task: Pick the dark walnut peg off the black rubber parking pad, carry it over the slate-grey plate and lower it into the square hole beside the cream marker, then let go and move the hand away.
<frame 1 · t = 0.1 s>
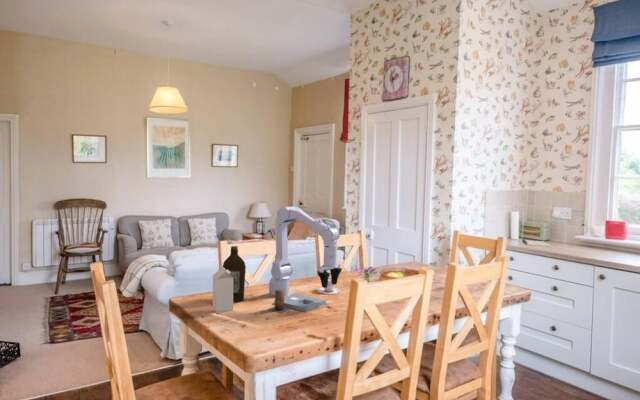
hand: (329, 285, 195), 10 cm above the table, tool pointing down, fingers open, 7 cm apart
teacup: (328, 291, 224), on the table
olive oil: (233, 300, 205), on the table
parking pad: (279, 311, 189), on the table
milk carton: (222, 311, 188), on the table
hole plate: (300, 305, 198), on the table
walnut peg: (279, 309, 189), point 1 cm above the table, touching parking pad
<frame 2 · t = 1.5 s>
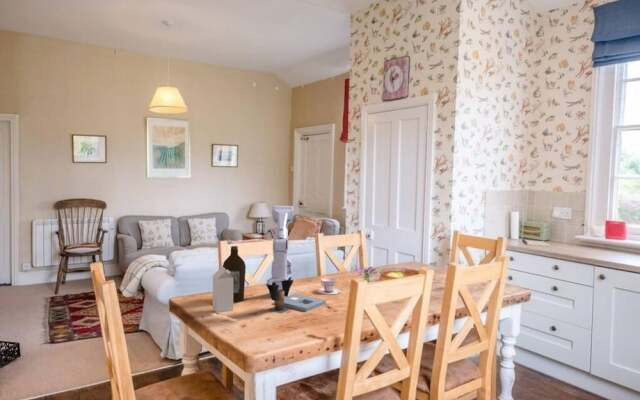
hand: (279, 298, 189), 6 cm above the table, tool pointing down, fingers open, 7 cm apart
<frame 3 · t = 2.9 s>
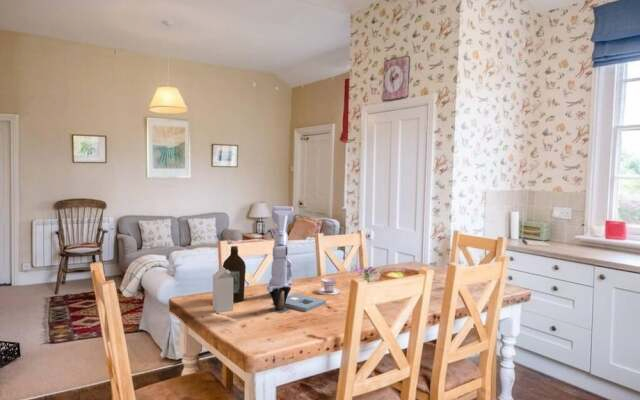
hand: (279, 304, 189), 3 cm above the table, tool pointing down, fingers closed on walnut peg, 4 cm apart
walnut peg: (279, 309, 189), point 1 cm above the table, touching gripper, parking pad
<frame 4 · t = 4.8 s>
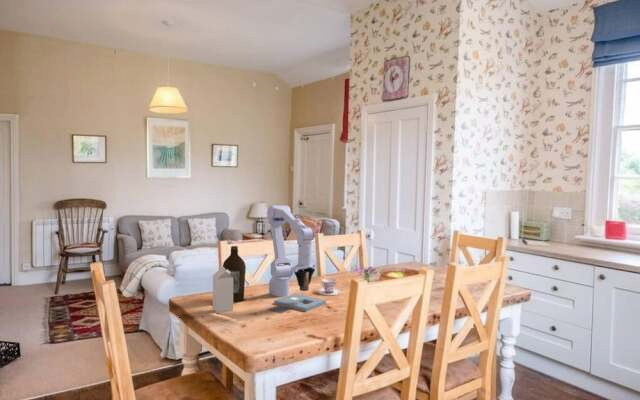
hand: (304, 285, 195), 10 cm above the table, tool pointing down, fingers closed on walnut peg, 4 cm apart
walnut peg: (304, 289, 195), point 8 cm above the table, touching gripper
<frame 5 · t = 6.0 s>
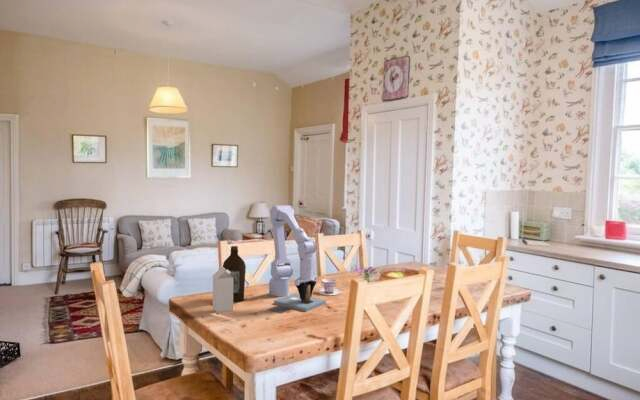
hand: (305, 298, 196), 4 cm above the table, tool pointing down, fingers closed on walnut peg, 4 cm apart
walnut peg: (305, 302, 196), point 2 cm above the table, touching gripper
when the fingers open (4 cm above the table, at t = 7.0 s): walnut peg drops 2 cm, resting in hole plate.
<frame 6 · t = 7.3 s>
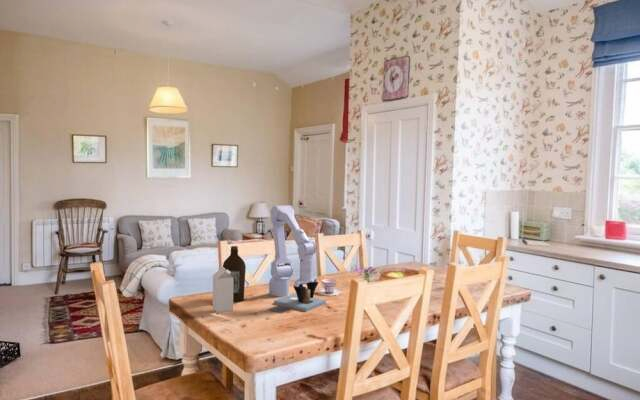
hand: (305, 299, 196), 4 cm above the table, tool pointing down, fingers open, 7 cm apart
walnut peg: (305, 307, 196), resting in hole plate
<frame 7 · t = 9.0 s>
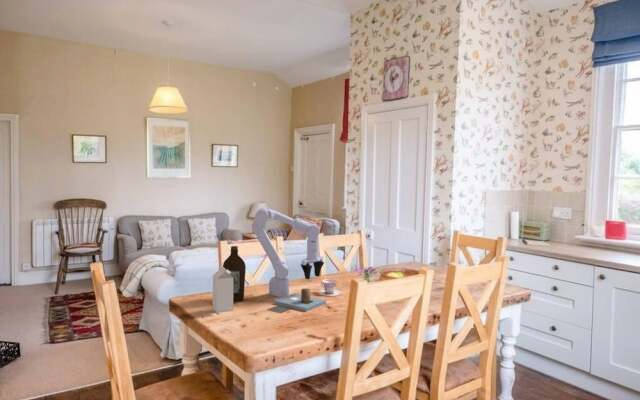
hand: (312, 277, 212), 10 cm above the table, tool pointing down, fingers open, 7 cm apart
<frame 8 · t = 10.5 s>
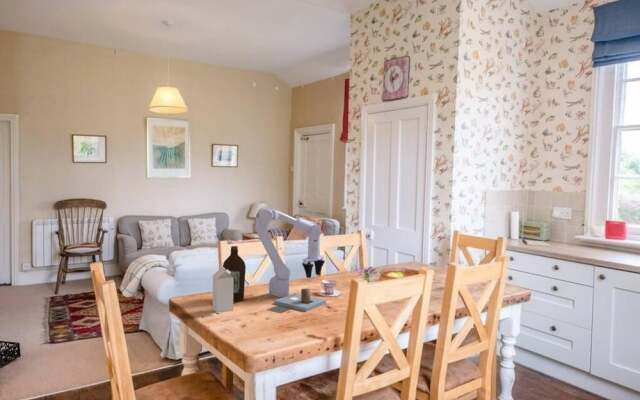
hand: (313, 276, 216), 9 cm above the table, tool pointing down, fingers open, 7 cm apart
at the end: walnut peg 0.0 cm from the target spot on the hole plate, point 0.0 cm above the hole plate's base; walnut peg tilted 0°; the gripper is holding nothing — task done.
